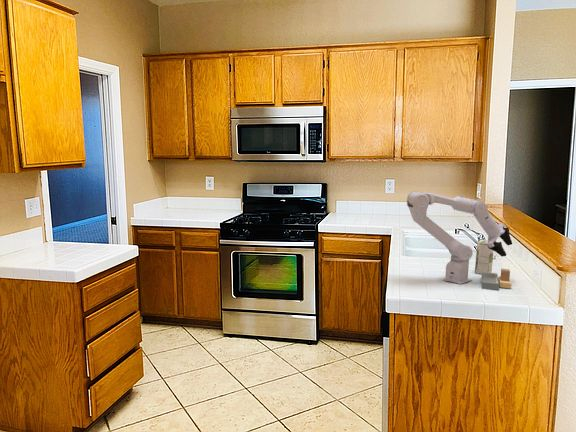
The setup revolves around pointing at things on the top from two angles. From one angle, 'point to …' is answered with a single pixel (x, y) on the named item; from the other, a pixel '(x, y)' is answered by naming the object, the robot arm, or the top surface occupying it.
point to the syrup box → (483, 258)
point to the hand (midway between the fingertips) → (507, 250)
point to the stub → (505, 279)
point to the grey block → (490, 281)
